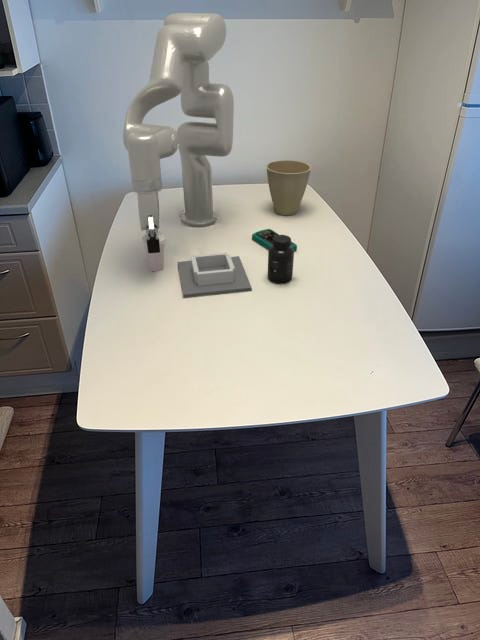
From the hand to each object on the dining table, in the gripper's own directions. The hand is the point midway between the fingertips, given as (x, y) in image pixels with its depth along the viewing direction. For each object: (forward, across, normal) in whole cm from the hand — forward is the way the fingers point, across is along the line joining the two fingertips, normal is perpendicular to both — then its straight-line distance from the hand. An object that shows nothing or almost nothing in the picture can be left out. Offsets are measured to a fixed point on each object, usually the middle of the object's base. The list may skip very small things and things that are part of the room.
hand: (153, 244), depth 134 cm
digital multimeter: (+8, -9, +37) cm, 38 cm away
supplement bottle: (+8, +11, +33) cm, 36 cm away
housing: (+8, +7, +15) cm, 19 cm away
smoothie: (+8, -1, 0) cm, 8 cm away
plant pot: (+7, -34, +47) cm, 58 cm away
